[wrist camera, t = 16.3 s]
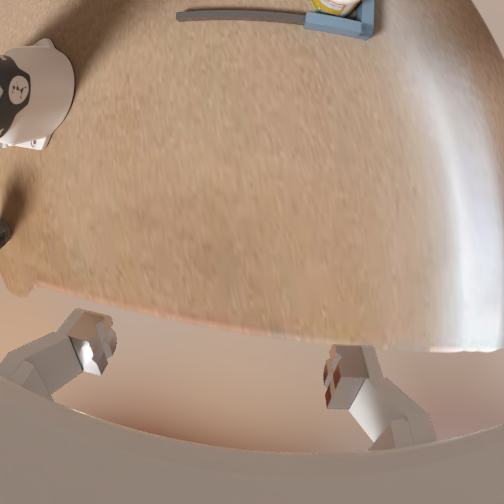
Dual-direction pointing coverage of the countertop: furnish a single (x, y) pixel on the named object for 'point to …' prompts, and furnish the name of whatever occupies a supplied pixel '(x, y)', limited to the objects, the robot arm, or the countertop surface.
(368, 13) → the socket block
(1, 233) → the beverage cup
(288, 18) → the guide rails
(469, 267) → the countertop surface
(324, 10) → the supplement bottle
